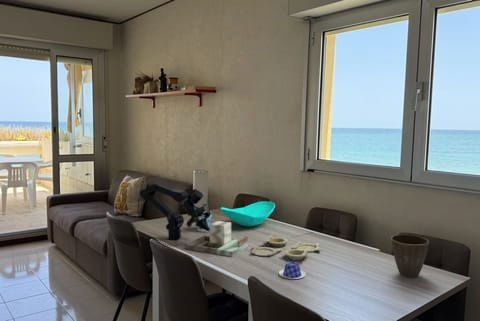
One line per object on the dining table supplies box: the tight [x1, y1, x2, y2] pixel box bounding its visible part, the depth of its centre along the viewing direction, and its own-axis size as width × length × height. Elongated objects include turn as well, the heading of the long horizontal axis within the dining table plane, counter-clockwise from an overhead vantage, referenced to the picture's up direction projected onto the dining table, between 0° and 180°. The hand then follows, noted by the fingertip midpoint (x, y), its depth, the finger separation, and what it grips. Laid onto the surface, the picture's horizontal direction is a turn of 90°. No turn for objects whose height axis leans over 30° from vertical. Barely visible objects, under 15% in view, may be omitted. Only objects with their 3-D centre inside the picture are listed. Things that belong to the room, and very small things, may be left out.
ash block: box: [209, 220, 232, 244], centre depth 208 cm, size 9×8×10 cm
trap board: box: [185, 234, 249, 257], centre depth 205 cm, size 28×19×6 cm
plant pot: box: [390, 234, 430, 279], centre depth 165 cm, size 15×15×16 cm
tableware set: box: [251, 234, 322, 261], centre depth 199 cm, size 35×29×4 cm
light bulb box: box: [197, 211, 213, 233], centre depth 241 cm, size 11×7×11 cm, turn 168°
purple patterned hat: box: [278, 261, 307, 280], centre depth 167 cm, size 12×12×5 cm
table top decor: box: [220, 201, 276, 228], centre depth 251 cm, size 40×28×13 cm
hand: (208, 230), depth 211 cm, fingers closed
